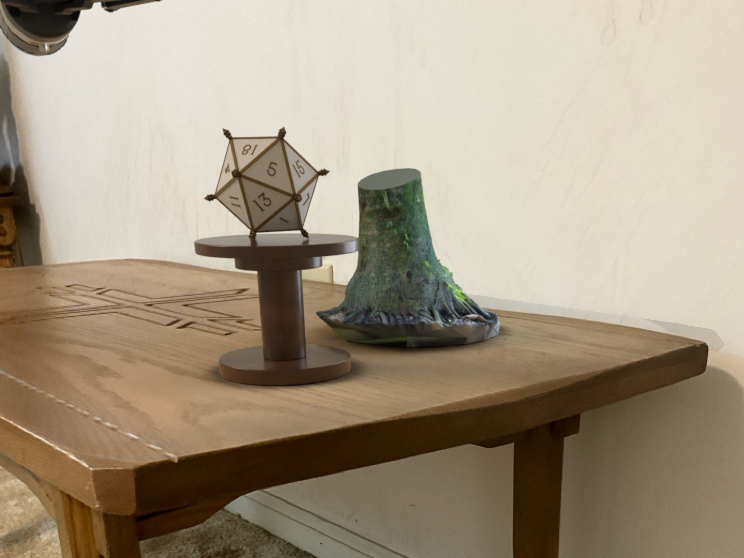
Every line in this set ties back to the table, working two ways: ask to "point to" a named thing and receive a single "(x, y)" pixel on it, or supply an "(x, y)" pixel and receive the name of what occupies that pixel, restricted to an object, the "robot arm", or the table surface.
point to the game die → (266, 184)
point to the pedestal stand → (281, 307)
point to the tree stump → (403, 275)
